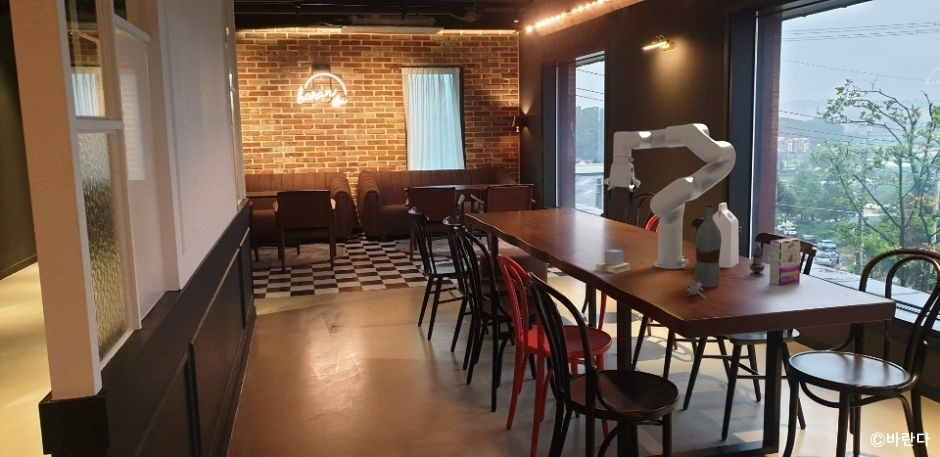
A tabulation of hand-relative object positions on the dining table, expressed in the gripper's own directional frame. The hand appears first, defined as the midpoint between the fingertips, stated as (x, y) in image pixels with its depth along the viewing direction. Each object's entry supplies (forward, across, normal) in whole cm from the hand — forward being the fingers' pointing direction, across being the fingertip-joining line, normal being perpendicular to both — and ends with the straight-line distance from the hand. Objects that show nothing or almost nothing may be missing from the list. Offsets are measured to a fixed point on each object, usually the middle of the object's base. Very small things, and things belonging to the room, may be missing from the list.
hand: (621, 199), depth 313 cm
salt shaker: (+26, -58, -5) cm, 64 cm away
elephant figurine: (+27, -53, +46) cm, 75 cm away
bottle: (+27, -50, +25) cm, 61 cm away
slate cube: (+24, -8, +20) cm, 32 cm away
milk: (+27, -38, -17) cm, 50 cm away
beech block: (+27, -8, +20) cm, 35 cm away
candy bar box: (+26, -71, +5) cm, 76 cm away
